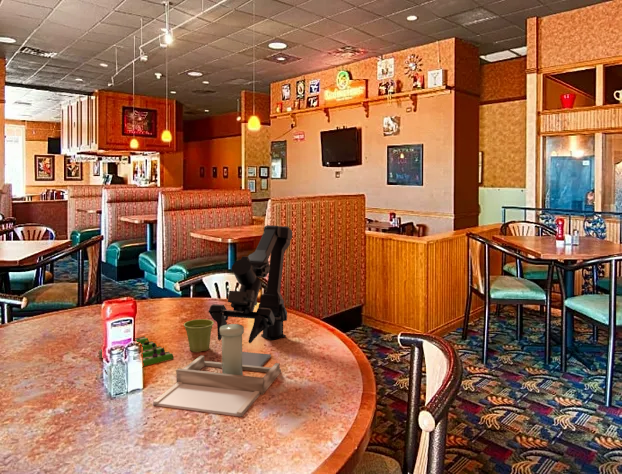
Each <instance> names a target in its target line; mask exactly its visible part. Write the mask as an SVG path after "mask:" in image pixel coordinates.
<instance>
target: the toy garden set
mask: <svg viewBox="0 0 622 474" xmlns="http://www.w3.org/2000/svg"><path fill="white" fill-rule="evenodd" d="M134 338H135V339H136V341H137V342H140V343H141V344H142V347H143V353H142V354H143V363H144V366H143V367H146V366H150V365H154V364H158V363H161V362H165V361H166V362H167V361H170V360H174V354H173V352H172V353H171V352H170V351H166V350H165V347H162V346H159V345H158V346H157V343H156V342H154V341H149V338H148V337H146V336H141V337H134ZM102 349H103V348H100V349H99V350H98V359H101V358H102Z"/></svg>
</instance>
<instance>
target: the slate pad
mask: <svg viewBox="0 0 622 474" xmlns="http://www.w3.org/2000/svg"><path fill="white" fill-rule="evenodd" d="M271 357H272V354H270V353H261V352H260V353H259V352H249V351H242V365H250V366H260V367H264V365H265V364H266V363H267V362H268V361H269V359H270V358H271Z"/></svg>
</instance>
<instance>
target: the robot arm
mask: <svg viewBox="0 0 622 474" xmlns="http://www.w3.org/2000/svg"><path fill="white" fill-rule="evenodd" d="M292 239H293V230H292V229H291V228H290V227H289V226H288V225H287V226H283V225H276V224H275V225H274V224H273V225H272V224H271V225H268V224H267V225H265V226H264V228H263V233H262V235H261V238H260V240H259V242H258V244H257V247H256V249H255V251H254V252H251V253H250V254H249V255H248V256H241V259H238V260H236V261H235V262H234V263H233V264H232V265H231V271H232V273H233V275H234V276H235V279H236V281H237V282H238V284H239V285H240V287H239V291H238V290H229V291H228V295H227V296H228V297H227V303H230V307H231V308H232V309H227V307H226V306H225V305H224V304H218V303H216V304H215V303H212V304H211V305H210V306H209V308H208V313H209V314H210V316H211V317H212V320H213V321H214V322H216V325H217V327H216V329H217V340H218V341H222V335H220V327H221V326H223V325H227V324H228V322H227V320H228V319H229V317H230V318H240V319H241V318H242V319H254V320H253V326H252V328H251V330H250V334H249V337H248V343H249V344H251V343H252V342H253V341H254V340H256V338H257V337H258V336H259V335H260V336H261V337H263V338H265V339H267V340H269V341H270V340H271V341H274V340H278V339H282V338H286V337H287V335H286V334H285V333H284V322H287V321H288V311H287V308H286V307H285V304H284V303H285V300H284V298H283V296H282V293H281V289H282V288H281V287H282V278H283V267H284V259H285V252H286V251H287V250H288V248H289V247H290V244H291V240H292ZM267 276H268V278H267V284H266V285H267V286H266V291H265V292H264V293H263V294H261V296H260V301H259V305H258V301H257V299H258V296H259V292H260V291H261V290H262V282H261V279H260V278H266V277H267ZM257 305H258V306H257ZM255 306H257V307H258V308H257V309H256V311H254V309H255ZM260 333H262V334H260Z"/></svg>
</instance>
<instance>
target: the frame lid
mask: <svg viewBox="0 0 622 474" xmlns="http://www.w3.org/2000/svg"><path fill="white" fill-rule="evenodd" d="M259 396H260V394H259V391H254V392H249V391H240V390H231V389H223V388H214V387H206V386H197V385H189V384H182V382H177V381H176V383H174V384H173V385H172V386H171V387H169V388H168V389H167V390H166V391H164V392H163V393H162V394H160V395H159V396H158V397H156V399H154V400H153V402H152V404H153V406H156V407H157V406H158V407H166V408H172V409H180V410H189V411H195V412H203V413H210V414H212V413H213V414H219V415H227V416H234V417H240V418H241V417H243V415H244V414H245V413H246V412H247V411H248V410H249V408H250V407H251V406H252V404H253V403H254V402H255V401H256V400H257V399H258V397H259Z"/></svg>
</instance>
